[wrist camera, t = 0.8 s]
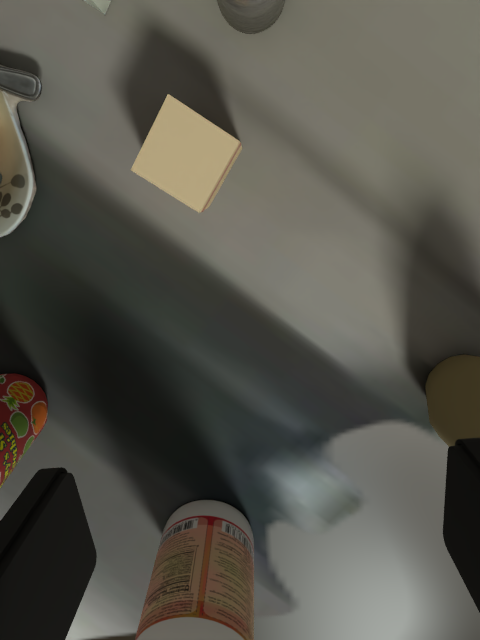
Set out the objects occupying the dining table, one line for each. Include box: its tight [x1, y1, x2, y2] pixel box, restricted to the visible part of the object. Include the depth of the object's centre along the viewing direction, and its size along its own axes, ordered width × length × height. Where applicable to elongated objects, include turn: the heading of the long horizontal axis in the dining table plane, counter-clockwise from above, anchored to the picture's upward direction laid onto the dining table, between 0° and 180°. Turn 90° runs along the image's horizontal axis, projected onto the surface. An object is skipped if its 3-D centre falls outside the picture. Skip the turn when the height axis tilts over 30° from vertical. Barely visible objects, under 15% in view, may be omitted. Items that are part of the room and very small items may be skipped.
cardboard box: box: [131, 94, 242, 213], centre depth 28 cm, size 5×5×6 cm
